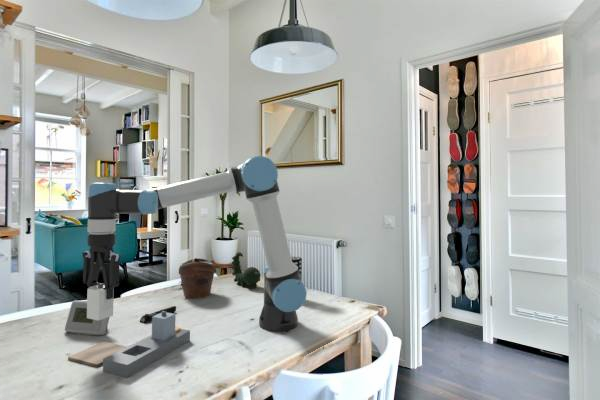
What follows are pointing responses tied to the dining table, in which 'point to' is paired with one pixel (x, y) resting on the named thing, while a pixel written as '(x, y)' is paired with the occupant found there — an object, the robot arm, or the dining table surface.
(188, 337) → the grey long flat block
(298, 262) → the white-spotted black cylinder
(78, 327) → the digital clock
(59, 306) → the dining table surface
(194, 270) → the brown flower pot
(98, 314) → the block
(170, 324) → the block
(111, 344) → the walnut mat
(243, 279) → the toy figurine
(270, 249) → the robot arm
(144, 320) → the electric trimmer
